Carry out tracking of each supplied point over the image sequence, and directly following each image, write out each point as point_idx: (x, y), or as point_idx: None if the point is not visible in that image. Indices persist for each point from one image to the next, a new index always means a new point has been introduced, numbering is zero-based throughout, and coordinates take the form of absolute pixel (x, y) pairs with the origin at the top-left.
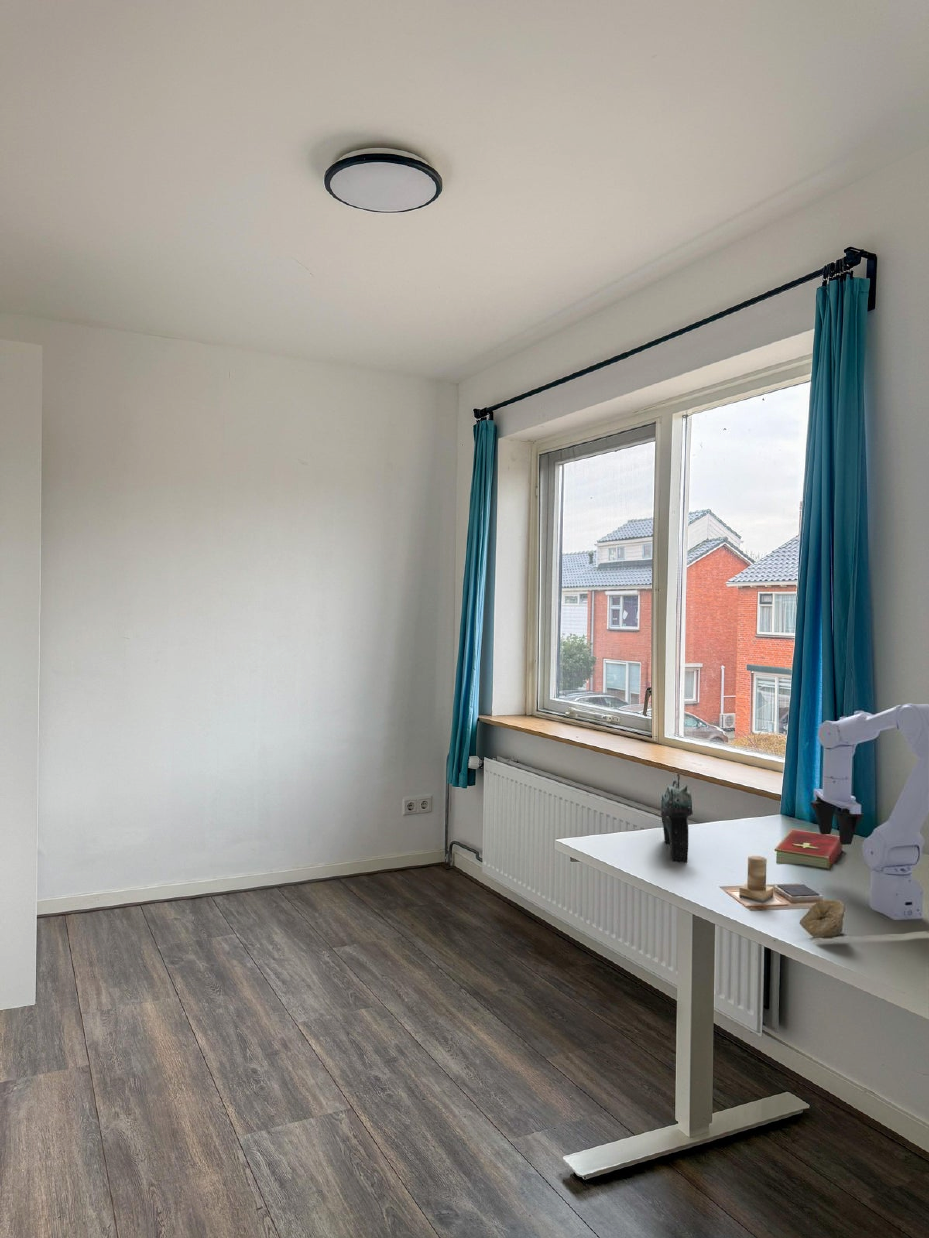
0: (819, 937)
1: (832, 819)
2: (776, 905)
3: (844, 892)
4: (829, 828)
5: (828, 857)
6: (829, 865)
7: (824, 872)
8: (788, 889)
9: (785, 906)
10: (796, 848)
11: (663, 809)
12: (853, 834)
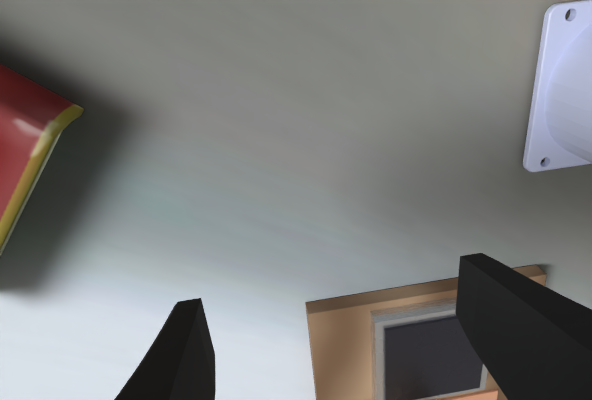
0: None
1: (176, 386)
2: None
3: (363, 153)
4: (198, 340)
5: (30, 123)
6: (62, 110)
7: (76, 124)
8: (428, 385)
9: (502, 395)
10: None
11: None
12: (549, 293)
